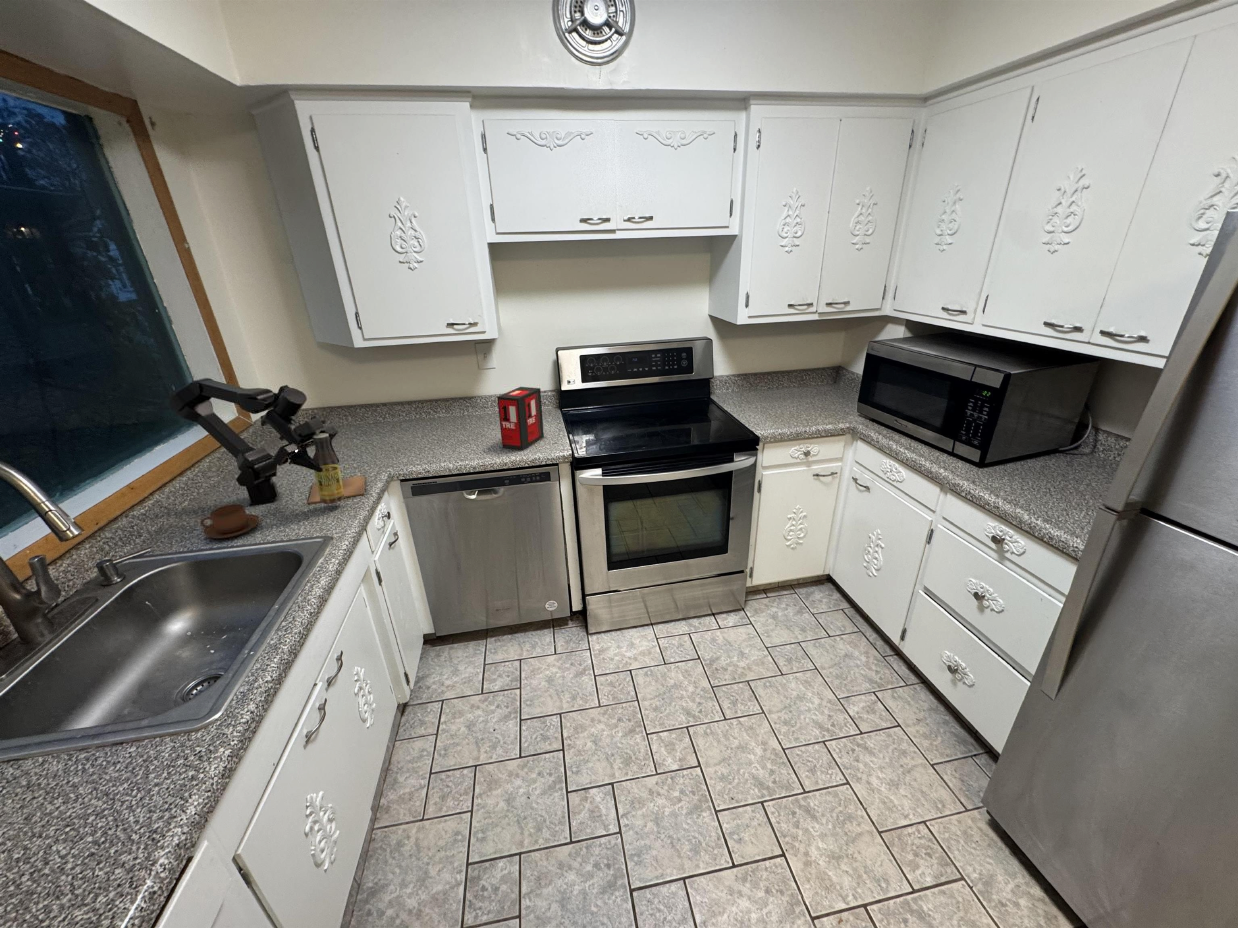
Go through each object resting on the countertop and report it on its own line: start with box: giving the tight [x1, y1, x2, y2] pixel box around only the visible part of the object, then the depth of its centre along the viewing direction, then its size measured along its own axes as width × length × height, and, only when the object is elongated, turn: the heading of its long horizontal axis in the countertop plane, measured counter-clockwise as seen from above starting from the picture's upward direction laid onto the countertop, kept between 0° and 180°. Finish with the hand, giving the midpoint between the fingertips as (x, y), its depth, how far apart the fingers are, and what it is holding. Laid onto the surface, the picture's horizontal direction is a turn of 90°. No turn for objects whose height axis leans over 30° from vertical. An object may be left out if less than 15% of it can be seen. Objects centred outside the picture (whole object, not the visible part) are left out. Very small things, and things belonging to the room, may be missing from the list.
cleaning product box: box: [496, 386, 545, 451], centre depth 194 cm, size 16×9×20 cm, turn 160°
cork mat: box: [307, 475, 366, 505], centre depth 158 cm, size 15×15×1 cm
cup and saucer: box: [199, 503, 260, 539], centre depth 133 cm, size 12×12×6 cm
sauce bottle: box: [312, 433, 345, 505], centre depth 142 cm, size 7×6×20 cm
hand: (330, 466), depth 142 cm, fingers closed on sauce bottle, 6 cm apart
